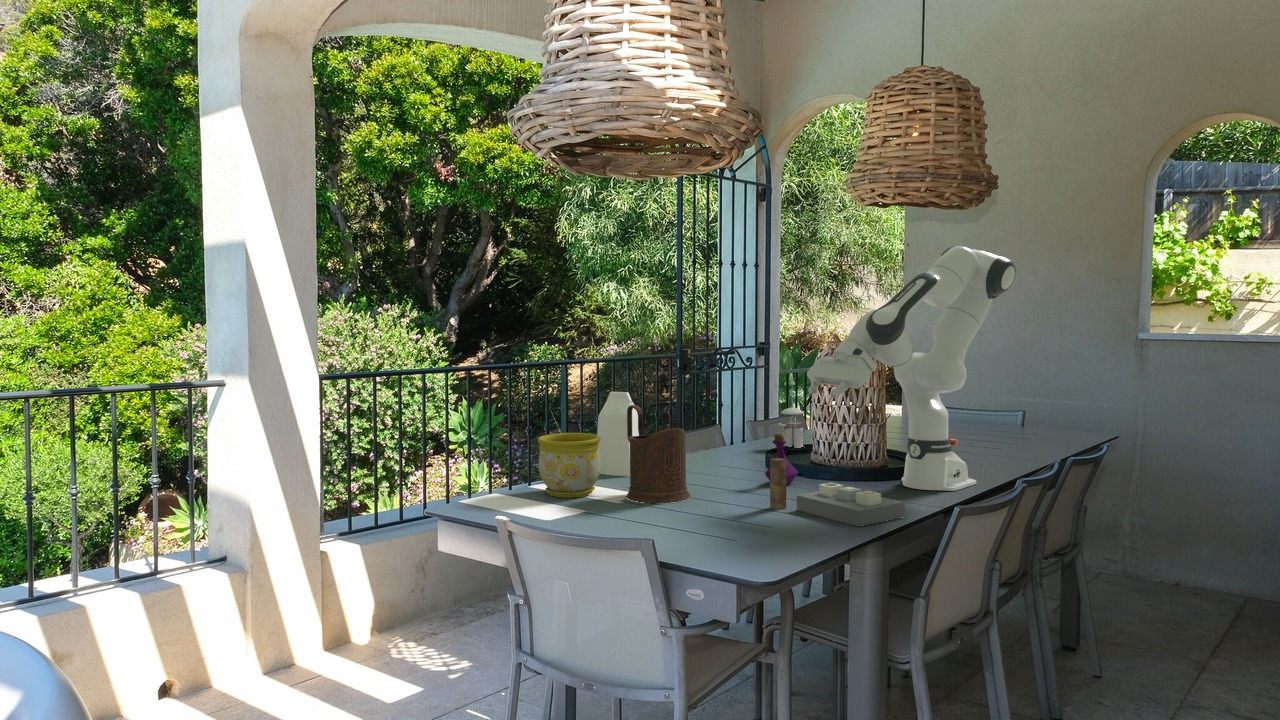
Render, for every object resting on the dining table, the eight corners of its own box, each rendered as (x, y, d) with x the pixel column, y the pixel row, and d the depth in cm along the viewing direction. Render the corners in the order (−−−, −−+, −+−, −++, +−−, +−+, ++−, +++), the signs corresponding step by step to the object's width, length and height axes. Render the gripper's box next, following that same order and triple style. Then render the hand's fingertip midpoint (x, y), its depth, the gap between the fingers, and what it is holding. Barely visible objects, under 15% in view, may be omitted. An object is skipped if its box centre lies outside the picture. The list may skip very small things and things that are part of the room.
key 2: (867, 504, 234) (868, 489, 234) (881, 507, 231) (881, 492, 230) (855, 506, 232) (855, 492, 232) (868, 509, 228) (869, 495, 228)
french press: (804, 447, 343) (804, 380, 341) (807, 452, 331) (807, 383, 329) (778, 446, 344) (777, 380, 342) (779, 452, 332) (779, 383, 330)
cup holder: (649, 507, 247) (648, 415, 246) (603, 492, 267) (601, 406, 266) (704, 498, 258) (703, 409, 256) (655, 484, 278) (654, 402, 276)
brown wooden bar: (778, 506, 247) (778, 458, 246) (786, 508, 244) (786, 459, 243) (770, 507, 245) (770, 459, 244) (777, 509, 243) (777, 460, 242)
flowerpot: (546, 502, 255) (545, 443, 253) (533, 489, 272) (532, 434, 271) (608, 497, 260) (608, 439, 259) (592, 485, 277) (591, 431, 276)
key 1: (831, 495, 245) (831, 481, 245) (843, 498, 242) (843, 484, 241) (819, 497, 243) (819, 483, 243) (831, 500, 239) (831, 486, 239)
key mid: (849, 499, 240) (849, 485, 240) (861, 502, 236) (861, 488, 236) (836, 502, 237) (837, 487, 237) (849, 505, 234) (849, 490, 233)
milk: (644, 470, 301) (643, 391, 299) (630, 476, 290) (629, 394, 288) (610, 467, 305) (609, 390, 303) (595, 474, 295) (594, 393, 293)
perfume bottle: (786, 487, 271) (786, 426, 270) (764, 484, 275) (764, 424, 274) (798, 483, 277) (798, 423, 276) (776, 480, 281) (776, 421, 280)
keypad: (840, 502, 250) (840, 487, 250) (904, 517, 232) (904, 502, 232) (796, 510, 242) (796, 495, 241) (859, 527, 223) (859, 510, 223)
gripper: (819, 347, 262) (791, 383, 258) (869, 351, 244) (840, 390, 240) (831, 362, 265) (803, 398, 261) (881, 368, 247) (853, 406, 243)
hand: (821, 394), depth 250 cm, fingers open, 8 cm apart
